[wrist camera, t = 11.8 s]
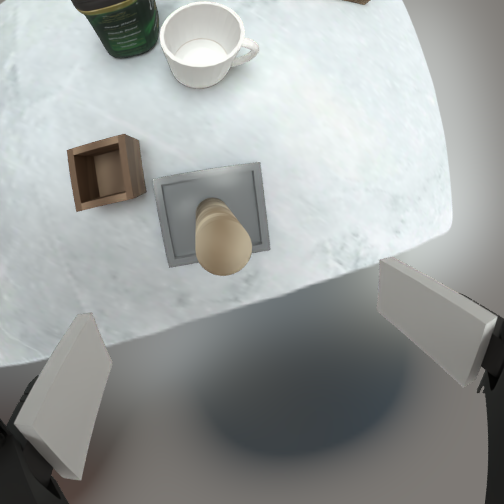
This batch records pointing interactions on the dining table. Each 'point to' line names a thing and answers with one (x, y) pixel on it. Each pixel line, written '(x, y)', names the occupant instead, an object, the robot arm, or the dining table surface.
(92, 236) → the dining table surface
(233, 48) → the mug
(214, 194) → the tray
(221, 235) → the dowel
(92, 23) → the coffee jar
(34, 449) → the robot arm
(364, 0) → the frame
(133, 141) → the pen cup
